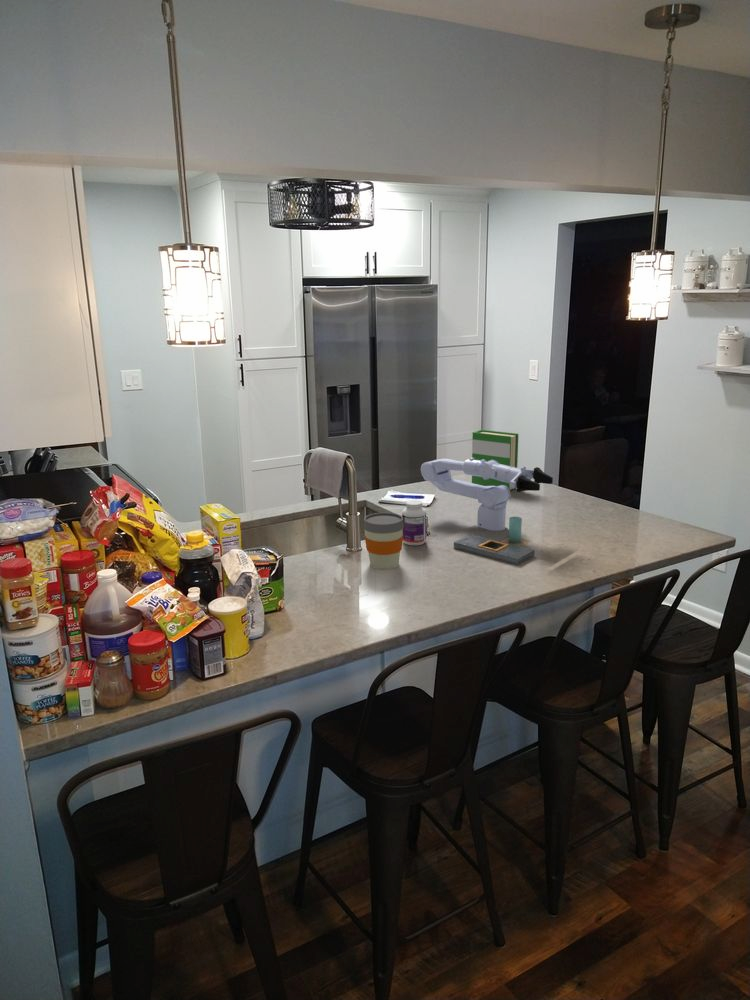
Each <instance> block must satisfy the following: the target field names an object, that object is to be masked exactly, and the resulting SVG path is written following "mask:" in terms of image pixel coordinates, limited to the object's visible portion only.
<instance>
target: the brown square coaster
mask: <svg viewBox="0 0 750 1000" xmlns="http://www.w3.org/2000/svg"><path fill="white" fill-rule="evenodd" d="M499 541H500V542H504V543H508V544H512V545H517V546H521V547H523V546H524V545H526V544H528V543H529V542H532V540H531V539H526V538H522V537H521V542H520V543H511V542H509V536H507V537H505V538H503V539H501V540H499Z"/></svg>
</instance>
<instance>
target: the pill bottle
mask: <svg viewBox="0 0 750 1000" xmlns="http://www.w3.org/2000/svg"><path fill="white" fill-rule="evenodd" d="M401 514H402V515H401V516H402V517H403V522H404V528H403V532H402V534H403V544H405V545H407V546H415V547H416V546H421V545H424V544H425V543H426V542H427V510H426V509H425V508H424V507H423V501H422V500H419V499H410V500H409V499H408V500H407V501H406V502H405V508H403V509H402V511H401Z"/></svg>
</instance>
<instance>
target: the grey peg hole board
mask: <svg viewBox="0 0 750 1000" xmlns="http://www.w3.org/2000/svg"><path fill="white" fill-rule="evenodd" d="M500 541H501V540H495V539H492V538H487V537H484V536H481V535H475V534H472V533H471V534H469V535H467V536H464V537H462V538H460V539H458V540H455V541H453V549H457V550H460V551H464V552H468V553H471V554H474V555H479V556H482V557H485V558H490V559H493V560H497V561H501V562H505V563H508V564H512V565H515V566H518V565H521V564H522V563H524V562H526V561H528V560H529V559H532V558H533V557H535V549H532V548H529V547H525V546H524V547H523V546H517V545H512V544H508V543H504V542H500ZM455 551H456V550H455ZM457 552H458V551H456V553H457ZM466 555H469V554H466ZM477 558H480V557H478V556H477ZM503 565H505V566H506V564H503ZM515 566H514V568H516V569H517V567H515Z"/></svg>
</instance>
